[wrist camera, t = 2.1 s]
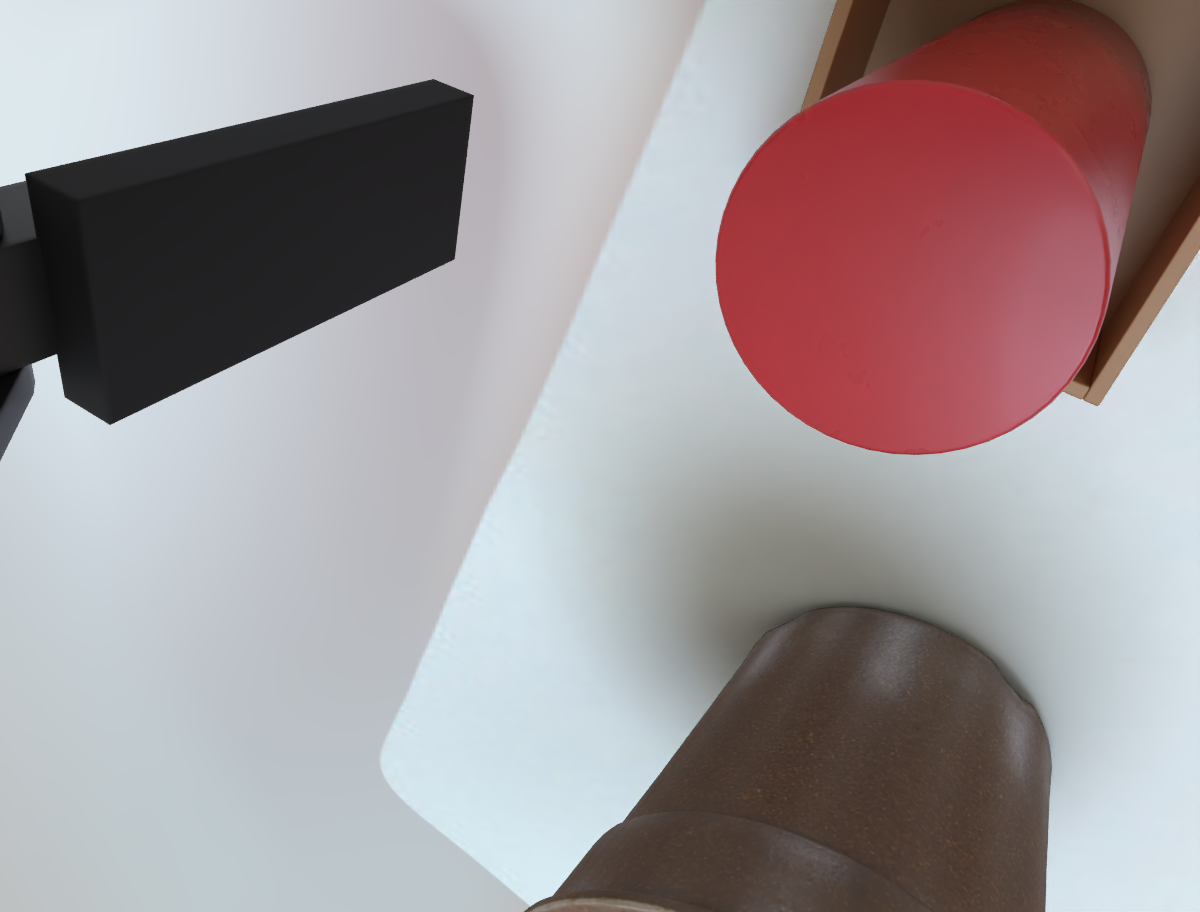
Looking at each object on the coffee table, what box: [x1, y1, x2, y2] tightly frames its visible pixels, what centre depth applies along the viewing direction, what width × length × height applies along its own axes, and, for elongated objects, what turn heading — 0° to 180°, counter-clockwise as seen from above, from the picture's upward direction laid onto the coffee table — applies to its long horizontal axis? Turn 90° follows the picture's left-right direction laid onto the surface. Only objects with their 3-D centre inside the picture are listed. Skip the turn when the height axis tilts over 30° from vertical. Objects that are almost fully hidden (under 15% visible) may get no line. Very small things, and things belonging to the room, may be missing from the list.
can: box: [716, 0, 1152, 455], centre depth 20 cm, size 6×6×14 cm
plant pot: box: [524, 607, 1052, 912], centre depth 31 cm, size 16×16×16 cm
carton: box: [800, 0, 1200, 406], centre depth 23 cm, size 10×10×4 cm
